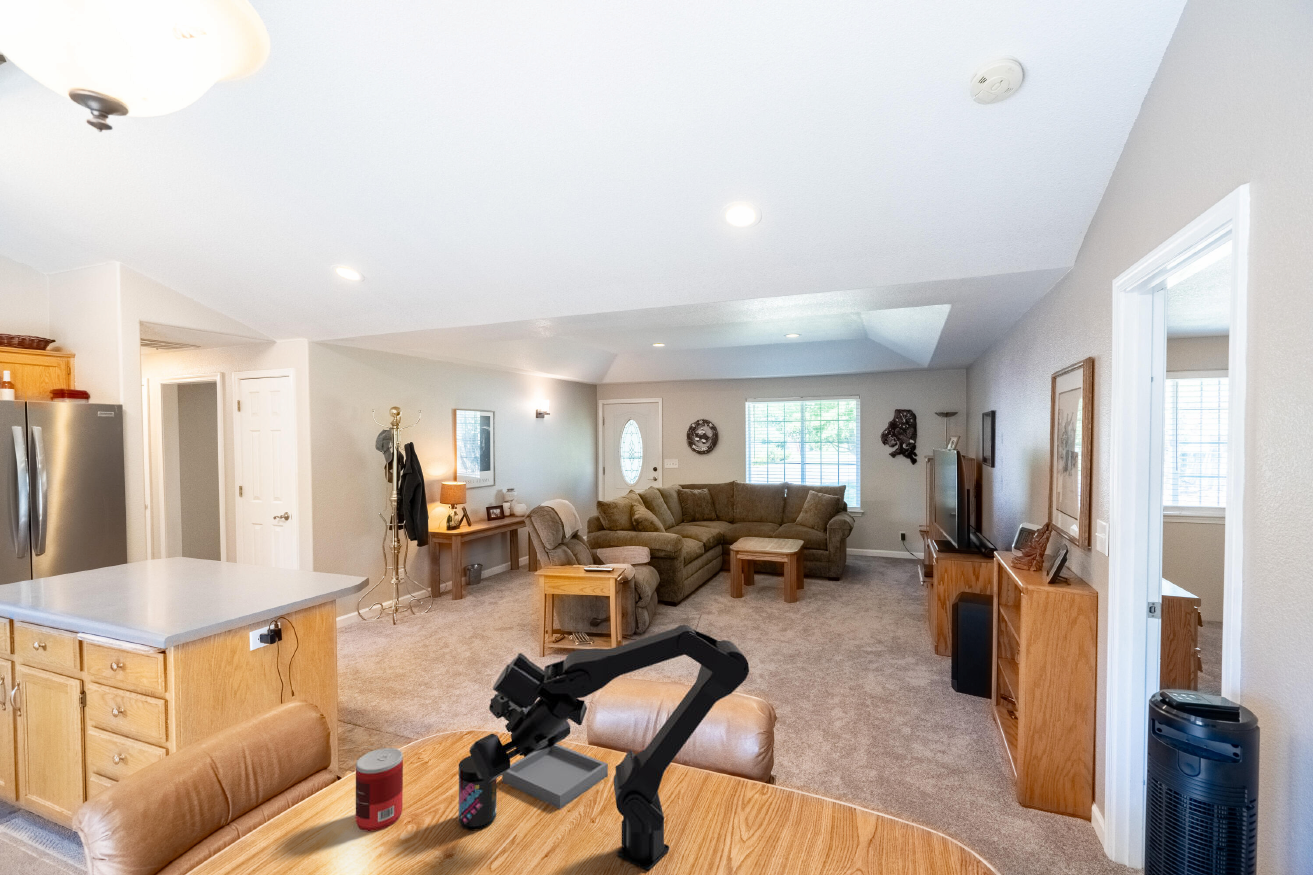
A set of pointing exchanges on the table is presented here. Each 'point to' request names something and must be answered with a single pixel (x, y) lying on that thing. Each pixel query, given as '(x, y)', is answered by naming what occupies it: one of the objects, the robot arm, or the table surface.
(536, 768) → the tray
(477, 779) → the supplement container
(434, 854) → the table surface
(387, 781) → the canned food
